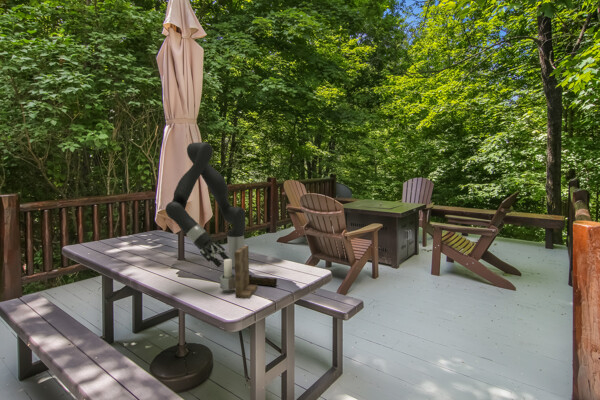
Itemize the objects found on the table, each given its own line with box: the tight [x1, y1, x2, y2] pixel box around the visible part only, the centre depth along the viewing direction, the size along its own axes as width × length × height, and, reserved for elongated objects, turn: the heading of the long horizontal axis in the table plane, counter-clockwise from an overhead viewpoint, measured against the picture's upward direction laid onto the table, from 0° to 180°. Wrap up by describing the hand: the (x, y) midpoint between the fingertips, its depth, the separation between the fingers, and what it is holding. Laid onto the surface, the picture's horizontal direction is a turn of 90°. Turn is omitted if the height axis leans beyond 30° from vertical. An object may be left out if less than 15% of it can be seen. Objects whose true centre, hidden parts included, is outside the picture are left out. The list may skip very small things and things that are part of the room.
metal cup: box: [219, 273, 235, 291], centre depth 152 cm, size 7×9×5 cm
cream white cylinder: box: [223, 259, 233, 279], centre depth 152 cm, size 4×4×12 cm
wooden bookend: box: [234, 245, 259, 299], centre depth 150 cm, size 12×6×20 cm, turn 169°
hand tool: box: [249, 274, 278, 288], centre depth 162 cm, size 19×4×5 cm, turn 72°
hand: (224, 262), depth 152 cm, fingers open, 8 cm apart
